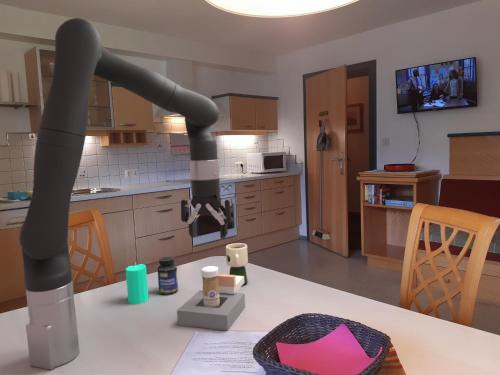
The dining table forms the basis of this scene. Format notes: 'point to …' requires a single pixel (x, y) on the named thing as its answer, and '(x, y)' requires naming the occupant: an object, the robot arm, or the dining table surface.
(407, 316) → the dining table surface
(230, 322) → the socket block
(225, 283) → the panel
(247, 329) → the dining table surface
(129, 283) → the candle
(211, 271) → the sprinkles bottle
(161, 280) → the pill bottle
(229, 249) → the character mug
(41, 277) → the robot arm
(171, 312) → the dining table surface
